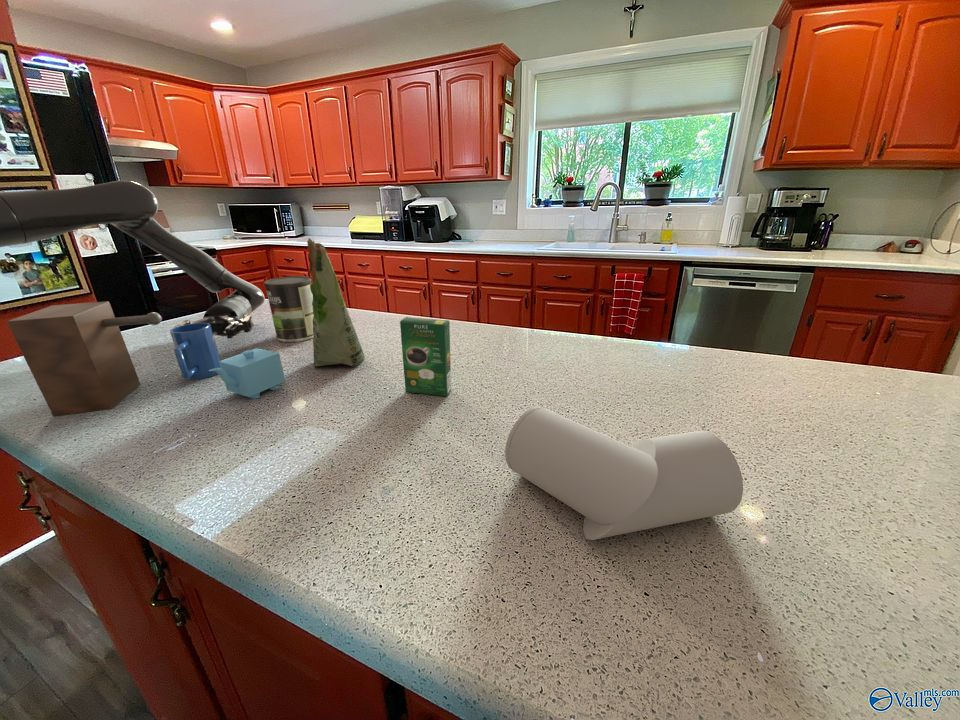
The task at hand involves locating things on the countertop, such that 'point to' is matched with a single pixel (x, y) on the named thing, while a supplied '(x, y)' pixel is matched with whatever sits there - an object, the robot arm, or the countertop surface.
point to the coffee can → (291, 307)
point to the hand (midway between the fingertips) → (205, 336)
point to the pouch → (330, 314)
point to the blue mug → (195, 350)
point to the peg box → (78, 355)
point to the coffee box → (426, 355)
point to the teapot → (251, 372)
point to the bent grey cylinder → (624, 473)
